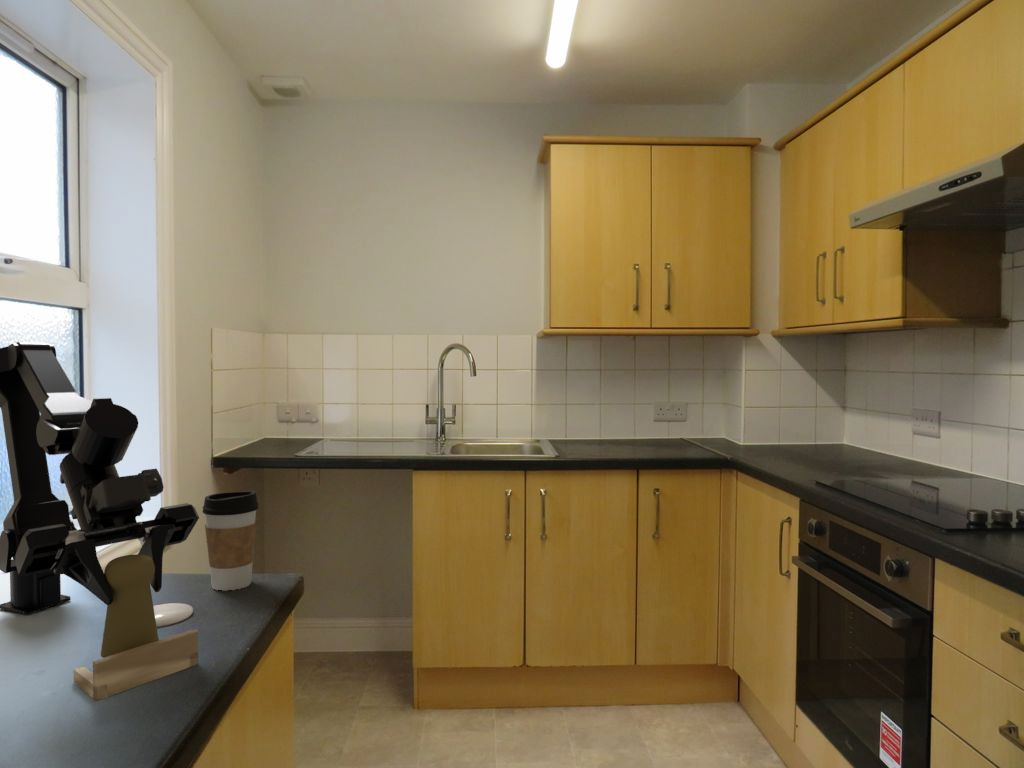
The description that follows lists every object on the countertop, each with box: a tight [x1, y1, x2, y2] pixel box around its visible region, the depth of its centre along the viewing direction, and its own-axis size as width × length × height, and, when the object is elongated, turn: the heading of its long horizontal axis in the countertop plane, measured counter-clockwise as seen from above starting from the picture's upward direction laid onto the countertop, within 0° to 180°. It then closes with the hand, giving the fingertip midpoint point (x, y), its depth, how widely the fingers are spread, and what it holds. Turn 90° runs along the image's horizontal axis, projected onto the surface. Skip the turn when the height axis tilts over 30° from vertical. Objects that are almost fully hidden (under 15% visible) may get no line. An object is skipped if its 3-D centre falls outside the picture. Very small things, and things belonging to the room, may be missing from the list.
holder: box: [73, 628, 199, 702], centre depth 77 cm, size 6×11×4 cm, turn 142°
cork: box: [100, 553, 160, 658], centre depth 78 cm, size 6×6×11 cm
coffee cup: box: [202, 490, 259, 592], centre depth 107 cm, size 8×8×15 cm
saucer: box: [153, 602, 194, 628], centre depth 94 cm, size 8×8×1 cm
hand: (135, 596), depth 77 cm, fingers closed on cork, 5 cm apart
